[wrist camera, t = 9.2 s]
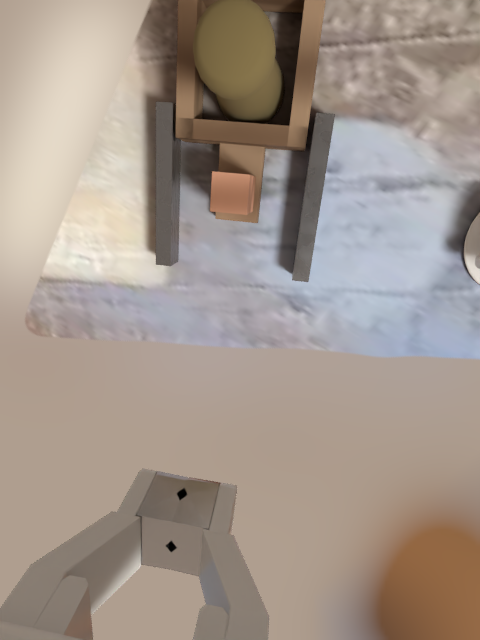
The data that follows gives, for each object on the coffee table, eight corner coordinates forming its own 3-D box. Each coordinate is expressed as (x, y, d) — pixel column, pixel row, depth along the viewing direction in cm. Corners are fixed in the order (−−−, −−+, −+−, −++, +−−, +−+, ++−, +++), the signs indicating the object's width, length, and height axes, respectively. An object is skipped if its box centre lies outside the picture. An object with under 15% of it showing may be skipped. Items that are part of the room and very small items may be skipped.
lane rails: (165, 108, 32) (155, 101, 30) (331, 119, 31) (334, 114, 28) (164, 259, 37) (155, 264, 35) (307, 276, 36) (308, 282, 33)
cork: (255, 143, 32) (238, 121, 22) (203, 98, 31) (160, 54, 21) (299, 80, 30) (303, 24, 20) (244, 31, 29) (219, -54, 19)
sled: (189, -16, 29) (164, -67, 23) (326, -11, 28) (335, -64, 22) (183, 214, 35) (162, 219, 29) (293, 225, 34) (294, 232, 28)
